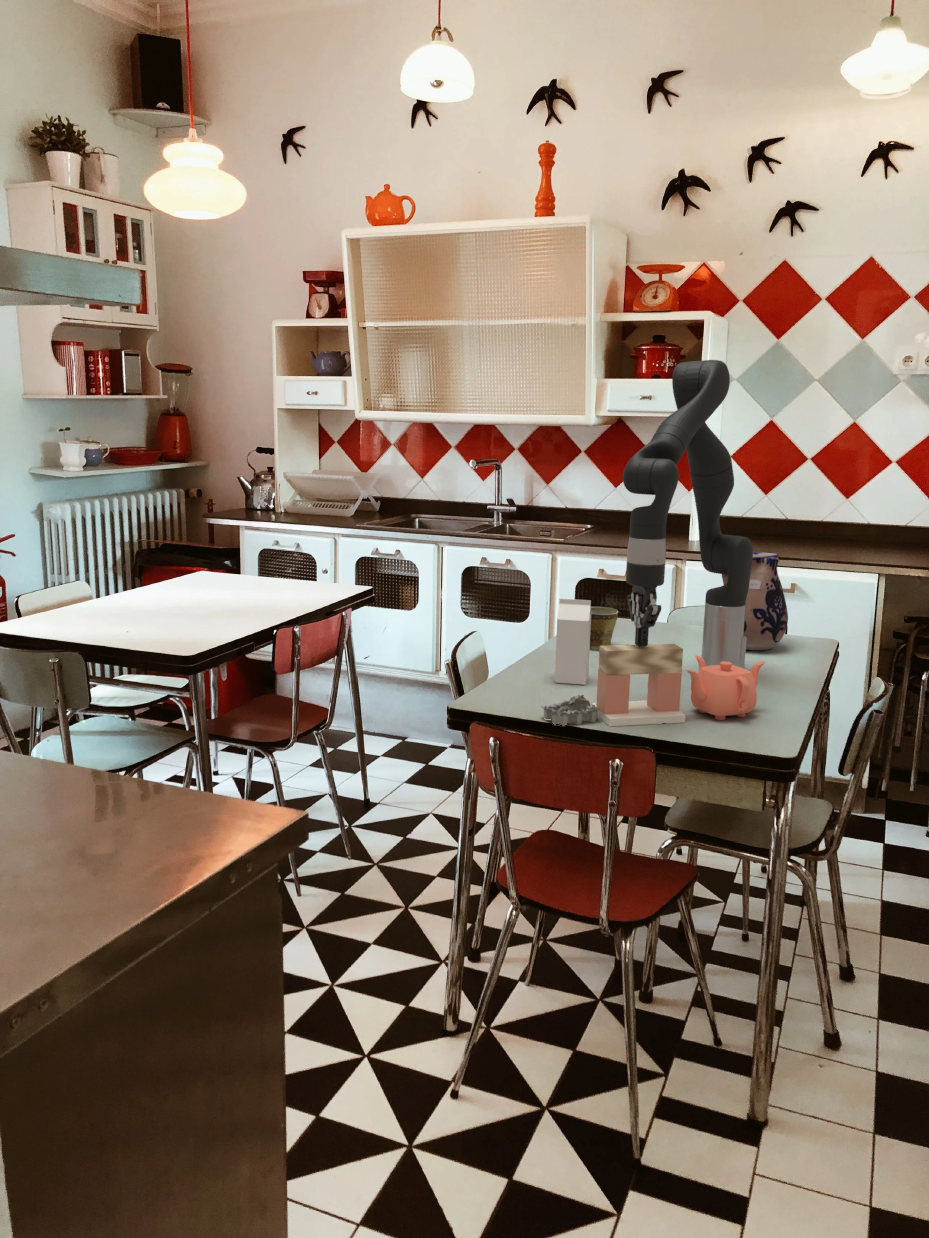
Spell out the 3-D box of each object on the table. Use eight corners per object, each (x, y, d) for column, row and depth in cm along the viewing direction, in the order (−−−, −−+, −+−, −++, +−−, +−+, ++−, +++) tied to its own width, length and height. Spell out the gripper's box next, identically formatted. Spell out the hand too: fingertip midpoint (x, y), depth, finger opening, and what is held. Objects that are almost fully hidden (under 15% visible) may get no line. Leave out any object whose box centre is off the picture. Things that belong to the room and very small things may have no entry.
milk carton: (585, 685, 223) (589, 603, 219) (554, 683, 224) (557, 601, 220) (588, 677, 230) (592, 597, 225) (558, 675, 231) (561, 595, 227)
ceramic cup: (624, 649, 257) (626, 611, 255) (595, 653, 252) (597, 615, 250) (591, 639, 268) (592, 603, 266) (563, 643, 262) (564, 606, 260)
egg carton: (584, 712, 204) (585, 693, 203) (603, 723, 197) (604, 703, 196) (538, 717, 200) (539, 698, 199) (555, 728, 193) (556, 708, 192)
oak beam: (672, 667, 203) (674, 643, 202) (681, 672, 198) (683, 648, 197) (598, 669, 200) (599, 645, 199) (605, 675, 195) (606, 651, 194)
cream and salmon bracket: (663, 706, 208) (665, 662, 206) (684, 722, 197) (688, 676, 195) (591, 709, 205) (593, 665, 203) (609, 726, 194) (611, 680, 192)
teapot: (682, 719, 200) (685, 666, 198) (692, 700, 213) (695, 651, 211) (756, 728, 195) (760, 674, 192) (761, 708, 208) (765, 658, 206)
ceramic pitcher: (759, 658, 250) (767, 561, 245) (692, 642, 266) (699, 551, 261) (798, 649, 261) (807, 555, 255) (732, 634, 277) (739, 546, 271)
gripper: (677, 565, 189) (671, 652, 192) (651, 555, 201) (646, 637, 205) (640, 565, 187) (635, 654, 191) (616, 555, 200) (612, 638, 203)
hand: (641, 645), depth 198 cm, fingers closed
